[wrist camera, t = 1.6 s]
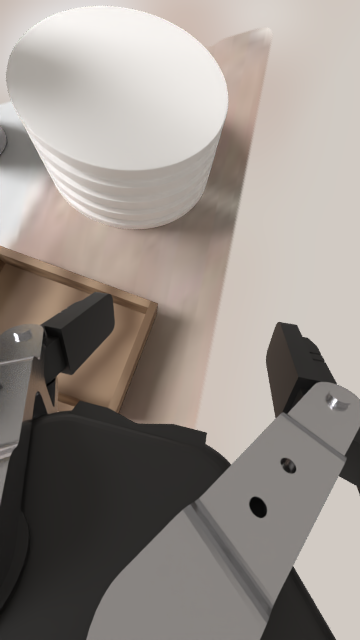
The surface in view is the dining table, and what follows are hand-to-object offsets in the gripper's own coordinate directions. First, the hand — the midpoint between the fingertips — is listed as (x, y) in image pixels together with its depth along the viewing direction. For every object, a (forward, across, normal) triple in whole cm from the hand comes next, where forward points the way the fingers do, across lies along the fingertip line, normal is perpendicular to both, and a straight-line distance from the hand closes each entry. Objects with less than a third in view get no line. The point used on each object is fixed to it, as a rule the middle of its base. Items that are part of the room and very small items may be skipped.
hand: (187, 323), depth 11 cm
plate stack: (+36, +18, -10) cm, 42 cm away
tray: (+13, +20, +13) cm, 27 cm away
